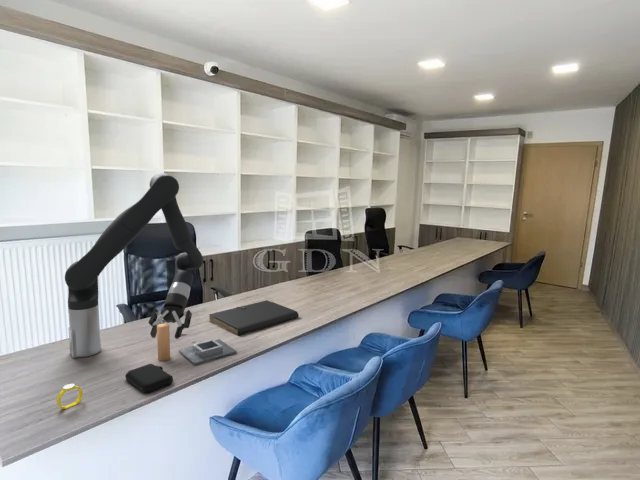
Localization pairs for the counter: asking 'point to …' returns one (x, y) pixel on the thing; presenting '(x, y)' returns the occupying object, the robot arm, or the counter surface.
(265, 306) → the black book
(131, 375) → the carrying case or bag
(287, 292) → the counter surface
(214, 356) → the mounting plate
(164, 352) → the post
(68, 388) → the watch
